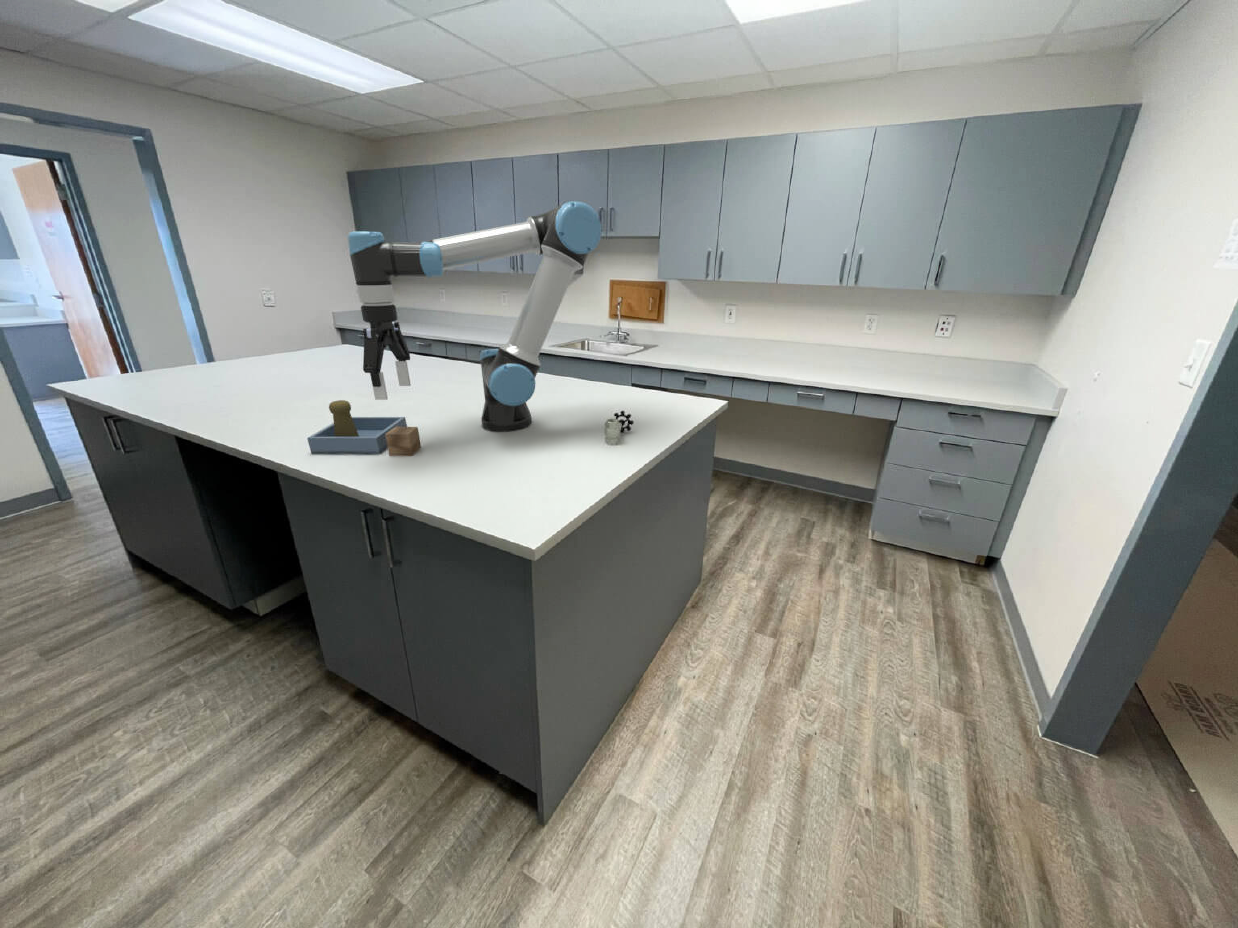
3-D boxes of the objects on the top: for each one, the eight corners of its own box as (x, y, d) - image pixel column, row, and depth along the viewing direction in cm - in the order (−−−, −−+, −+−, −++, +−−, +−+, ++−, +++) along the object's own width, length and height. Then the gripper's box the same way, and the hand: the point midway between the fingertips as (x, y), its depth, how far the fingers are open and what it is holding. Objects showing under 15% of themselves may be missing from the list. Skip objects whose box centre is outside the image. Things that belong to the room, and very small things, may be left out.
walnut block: (421, 447, 132) (417, 426, 130) (412, 456, 126) (408, 434, 124) (399, 447, 132) (395, 426, 130) (389, 456, 126) (385, 434, 124)
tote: (407, 431, 144) (405, 417, 142) (379, 454, 127) (376, 438, 126) (347, 431, 144) (343, 417, 142) (311, 454, 127) (307, 438, 126)
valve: (620, 447, 132) (633, 433, 142) (620, 424, 129) (633, 411, 140) (598, 444, 134) (612, 430, 144) (597, 421, 131) (612, 409, 142)
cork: (349, 443, 132) (340, 404, 128) (330, 442, 133) (320, 403, 129) (364, 436, 138) (356, 398, 133) (345, 435, 139) (336, 397, 134)
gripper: (385, 299, 126) (400, 380, 134) (332, 309, 103) (353, 405, 111) (414, 300, 126) (427, 380, 134) (368, 309, 103) (386, 406, 111)
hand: (393, 392), depth 123 cm, fingers open, 13 cm apart
